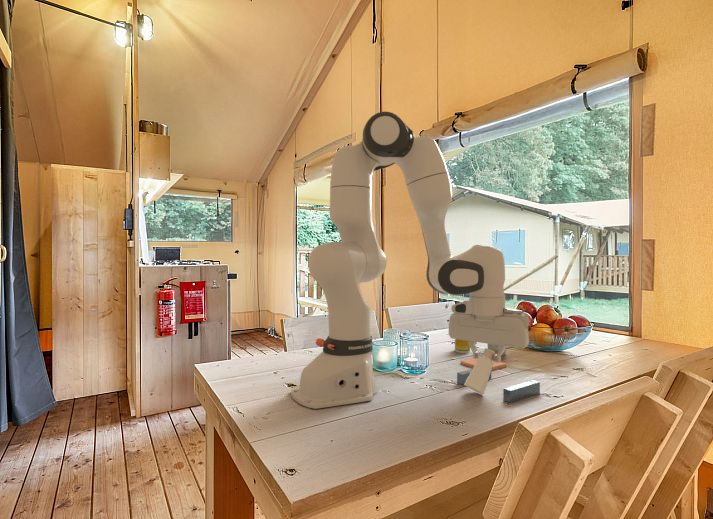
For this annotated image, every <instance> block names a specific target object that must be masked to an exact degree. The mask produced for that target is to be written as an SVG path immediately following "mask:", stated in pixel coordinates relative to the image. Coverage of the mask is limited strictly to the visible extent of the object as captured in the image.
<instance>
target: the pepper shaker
mask: <svg viewBox="0 0 713 519" xmlns="http://www.w3.org/2000/svg"><path fill="white" fill-rule="evenodd" d="M493 355H495V352H494V351H492V350H490V349H488V348H485V349H484V351H483V353H482V355H481V356H480V357H479V359H478V361H477V362H476V364H475V366H474V368H471V369H472V371H471V373H470V375H469V376H468V378H467V380H466V382H465V383H464V385H463V386H465V387H467V388H468V389H470V390H472V391H474V392H475V393H478V394H480V395H485V393H486V392H485V391H486V389H487V386H488V382H489V380H490V378H489V376H490V373H491V374H492V371H491V369H492V366H493V361H492V360H493V359H494V358H493Z"/></svg>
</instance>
